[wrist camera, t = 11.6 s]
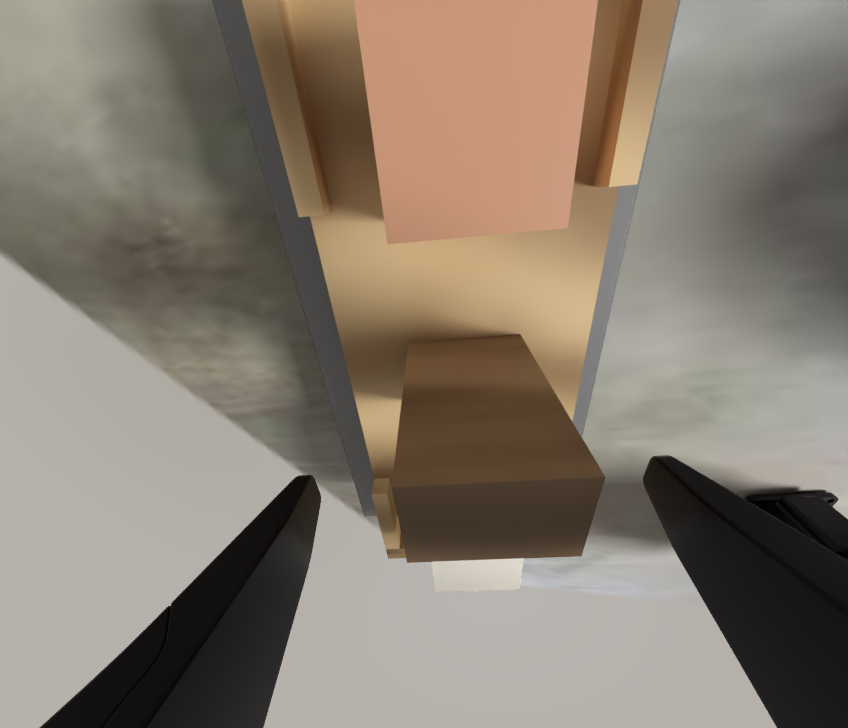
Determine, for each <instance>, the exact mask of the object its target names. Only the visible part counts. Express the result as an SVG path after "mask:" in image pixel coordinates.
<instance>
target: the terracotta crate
mask: <svg viewBox="0 0 848 728" xmlns="http://www.w3.org/2000/svg"><path fill="white" fill-rule="evenodd" d="M597 5H598V0H354V6H355V13H356V20H357V27H358V35H359V42H360V49H361V56H362V64H363V71H364V78H365V85H366V92H367V100H368V107H369V114H370V121H371V129H372V136H373V143H374V150H375V158H376V165H377V172H378V179H379V187H380V194H381V201H382V208H383V216H384V223H385V230H386V237H387V244H398V243H409V242H420V241H431V240H442V239H453V238H464V237H475V236H486V235H497V234H508V233H519V232H531V231H542V230H553V229H564V228H568V223H569V215H570V207H571V200H572V192H573V185H574V177H575V170H576V162H577V155H578V147H579V140H580V132H581V125H582V117H583V110H584V102H585V95H586V87H587V80H588V72H589V65H590V57H591V50H592V42H593V35H594V27H595V20H596V12H597Z"/></svg>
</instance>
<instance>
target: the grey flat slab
mask: <svg viewBox="0 0 848 728" xmlns="http://www.w3.org/2000/svg"><path fill="white" fill-rule="evenodd" d="M212 1H213V4H214V8H215V11H216V14H217V18H218V21H219V25H220V28H221V31H222V35H223V38H224V42H225V45H226V48H227V52H228V55H229V58H230V62H231V65H232V69H233V72H234V75H235V79H236V82H237V86H238V89H239V92H240V96H241V99H242V103H243V106H244V109H245V113H246V116H247V120H248V123H249V126H250V130H251V133H252V137H253V140H254V143H255V147H256V150H257V153H258V157H259V160H260V164H261V167H262V170H263V174H264V177H265V181H266V184H267V187H268V191H269V194H270V198H271V201H272V204H273V208H274V211H275V215H276V218H277V221H278V225H279V228H280V232H281V235H282V238H283V242H284V245H285V249H286V252H287V255H288V259H289V262H290V265H291V269H292V272H293V276H294V279H295V282H296V286H297V289H298V293H299V296H300V299H301V303H302V306H303V310H304V313H305V316H306V320H307V323H308V327H309V330H310V333H311V337H312V340H313V344H314V347H315V350H316V354H317V357H318V360H319V364H320V367H321V371H322V374H323V377H324V381H325V384H326V388H327V391H328V394H329V398H330V401H331V405H332V408H333V411H334V415H335V418H336V422H337V425H338V428H339V432H340V435H341V439H342V442H343V445H344V449H345V452H346V456H347V459H348V462H349V466H350V469H351V472H352V476H353V479H354V483H355V486H356V489H357V493H358V496H359V500H360V503H361V506H362V510H363V513H364V516H377V513H376V509H375V505H374V502H373V498H372V489H373V484H374V475H373V471H372V467H371V462H370V458H369V454H368V450H367V446H366V442H365V438H364V434H363V430H362V426H361V422H360V418H359V414H358V410H357V406H356V402H355V398H354V393H353V389H352V385H351V381H350V377H349V373H348V369H347V365H346V361H345V357H344V353H343V349H342V345H341V341H340V337H339V333H338V328H337V324H336V320H335V316H334V312H333V308H332V304H331V300H330V296H329V292H328V288H327V284H326V280H325V276H324V272H323V268H322V263H321V259H320V255H319V251H318V247H317V243H316V239H315V235H314V231H313V227H312V223H311V219H310V216H306V217H299V216H298V213H297V209H296V205H295V201H294V197H293V194H292V190H291V186H290V182H289V178H288V174H287V171H286V167H285V163H284V159H283V155H282V152H281V148H280V144H279V140H278V136H277V133H276V129H275V125H274V121H273V117H272V114H271V110H270V106H269V102H268V98H267V95H266V91H265V87H264V83H263V79H262V76H261V72H260V68H259V64H258V60H257V57H256V53H255V49H254V45H253V41H252V38H251V34H250V30H249V26H248V22H247V18H246V15H245V11H244V7H243V3H242V0H212ZM679 4H680V0H678V3H677V7H676V12H675V16H674V21H673V25H672V30H671V34H670V39H669V43H668V48H667V52H666V57H665V61H664V66H663V70H662V75H661V79H660V84H659V88H658V93H657V97H656V102H655V106H654V111H653V115H652V120H651V124H650V129H649V133H648V138H647V142H646V147H645V151H644V156H643V161H642V165H641V170H640V174H639V179H638V183H637V184H636V185H626V186H619V187H618V192H617V197H616V202H615V207H614V212H613V217H612V222H611V227H610V233H609V238H608V243H607V248H606V253H605V258H604V263H603V268H602V273H601V278H600V283H599V289H598V294H597V299H596V304H595V309H594V314H593V319H592V324H591V329H590V334H589V340H588V345H587V350H586V355H585V360H584V365H583V370H582V375H581V380H580V385H579V391H578V396H577V401H576V406H575V411H574V416H573V421H572V422H573V424H574V425H575V427H576V429H577V431H578V432H579V434H580V436H581V437H582V435H583V431H584V426H585V422H586V417H587V413H588V408H589V404H590V400H591V395H592V391H593V386H594V382H595V377H596V373H597V368H598V364H599V360H600V355H601V351H602V346H603V342H604V337H605V333H606V328H607V324H608V320H609V315H610V311H611V306H612V302H613V297H614V293H615V288H616V284H617V280H618V275H619V271H620V266H621V262H622V257H623V253H624V248H625V244H626V240H627V235H628V231H629V226H630V222H631V217H632V213H633V208H634V204H635V200H636V195H637V191H638V186H639V182H640V177H641V173H642V168H643V164H644V160H645V155H646V151H647V146H648V142H649V137H650V133H651V128H652V124H653V120H654V115H655V111H656V106H657V102H658V97H659V93H660V88H661V84H662V80H663V75H664V71H665V66H666V62H667V57H668V53H669V48H670V44H671V40H672V35H673V31H674V26H675V22H676V17H677V13H678V9H679Z"/></svg>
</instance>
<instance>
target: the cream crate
mask: <svg viewBox="0 0 848 728" xmlns="http://www.w3.org/2000/svg"><path fill="white" fill-rule="evenodd" d="M523 560H524V558H517V559H490V560H463V561H436V562H431V563H432V571H433V578H434V586H435V592H464V591H496V590H519V589H520V582H521V575H522V568H523Z"/></svg>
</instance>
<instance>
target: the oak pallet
mask: <svg viewBox="0 0 848 728" xmlns="http://www.w3.org/2000/svg"><path fill="white" fill-rule="evenodd" d="M242 3H243V7H244V11H245V15H246V18H247V22H248V26H249V30H250V34H251V38H252V41H253V45H254V49H255V53H256V57H257V60H258V64H259V68H260V72H261V76H262V79H263V83H264V87H265V91H266V95H267V98H268V102H269V106H270V110H271V114H272V117H273V121H274V125H275V129H276V133H277V136H278V140H279V144H280V148H281V152H282V155H283V159H284V163H285V167H286V171H287V174H288V178H289V182H290V186H291V190H292V194H293V197H294V201H295V205H296V209H297V213H298V216H299V217H306V216H310V219H311V223H312V227H313V231H314V235H315V239H316V243H317V247H318V251H319V255H320V259H321V263H322V268H323V272H324V276H325V280H326V284H327V288H328V292H329V296H330V300H331V304H332V308H333V312H334V316H335V320H336V324H337V328H338V333H339V337H340V341H341V345H342V349H343V353H344V357H345V361H346V365H347V369H348V373H349V377H350V381H351V385H352V389H353V393H354V398H355V402H356V406H357V410H358V414H359V418H360V422H361V426H362V430H363V434H364V438H365V442H366V446H367V450H368V454H369V458H370V462H371V467H372V471H373V475H374V484H373V489H372V498H373V502H374V505H375V509H376V513H377V517H378V521H379V525H380V528H381V532H382V536H383V539H384V544H385V547H386V551H387V555H388V558H406V559H407V562H408V563H409V562H436V561H463V560H490V559H517V558H544V557H571V556H582V552H583V549H584V546H585V542H586V539H587V536H588V532H589V529H590V526H591V522H592V519H593V515H594V512H595V509H596V505H597V502H598V499H599V495H600V492H601V489H602V485H603V482H604V479H605V476H604V474H603V473H602V471H601V469H600V468H599V466H598V464H597V462H596V461H595V459H594V457H593V456H592V454H591V452H590V451H589V449H588V447H587V446H586V444H585V442H584V441H583V439H582V437H581V436H580V434H579V432H578V431H577V429H576V427H575V425H574V424H573V422H572V421H573V416H574V411H575V406H576V401H577V396H578V391H579V385H580V380H581V375H582V370H583V365H584V360H585V355H586V350H587V345H588V340H589V334H590V329H591V324H592V319H593V314H594V309H595V304H596V299H597V294H598V289H599V283H600V278H601V273H602V268H603V263H604V258H605V253H606V248H607V243H608V238H609V233H610V227H611V222H612V217H613V212H614V207H615V202H616V197H617V192H618V187H619V186H626V185H636V184H637V183H638V179H639V174H640V170H641V165H642V161H643V156H644V151H645V147H646V142H647V138H648V133H649V129H650V124H651V120H652V115H653V111H654V106H655V102H656V97H657V93H658V88H659V84H660V79H661V75H662V70H663V66H664V61H665V57H666V52H667V48H668V43H669V39H670V34H671V30H672V25H673V21H674V16H675V12H676V7H677V3H678V0H598V5H597V12H596V20H595V27H594V35H593V42H592V50H591V57H590V65H589V72H588V80H587V87H586V95H585V102H584V110H583V117H582V125H581V132H580V140H579V147H578V155H577V162H576V170H575V177H574V185H573V192H572V200H571V207H570V215H569V223H568V228H564V229H553V230H542V231H531V232H519V233H508V234H497V235H486V236H475V237H464V238H453V239H442V240H431V241H420V242H409V243H398V244H387V237H386V230H385V223H384V216H383V208H382V201H381V194H380V187H379V179H378V172H377V165H376V158H375V150H374V143H373V136H372V129H371V121H370V114H369V107H368V100H367V92H366V85H365V78H364V71H363V64H362V56H361V49H360V42H359V35H358V27H357V20H356V13H355V6H354V0H242Z"/></svg>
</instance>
